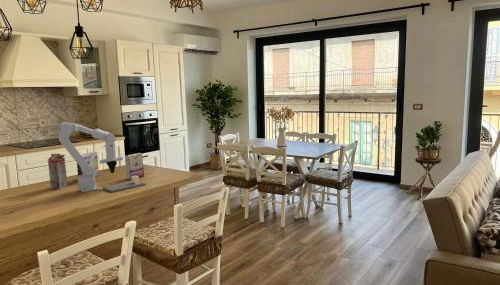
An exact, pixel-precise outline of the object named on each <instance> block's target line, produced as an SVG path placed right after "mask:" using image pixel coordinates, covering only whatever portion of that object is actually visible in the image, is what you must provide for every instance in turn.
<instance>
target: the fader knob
mask: <svg viewBox="0 0 500 285" xmlns="http://www.w3.org/2000/svg"><path fill="white" fill-rule="evenodd" d="M130 180H131V181H132V183H139V182H140V177H139V176H131V179H130Z"/></svg>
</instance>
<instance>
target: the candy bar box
mask: <svg viewBox="0 0 500 285" xmlns="http://www.w3.org/2000/svg"><path fill="white" fill-rule="evenodd" d="M124 160H125V171H126V179H127V180H132V179H131V176H139V178H142V177H144V176H145V173H144V170H145V169H144V159H143V153H141V152H138V153H133V154H128V155H124Z"/></svg>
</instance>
